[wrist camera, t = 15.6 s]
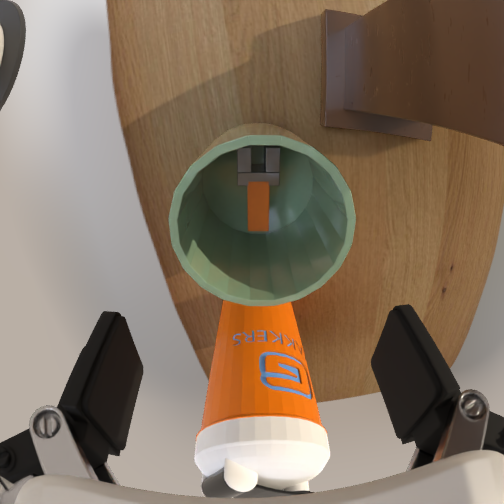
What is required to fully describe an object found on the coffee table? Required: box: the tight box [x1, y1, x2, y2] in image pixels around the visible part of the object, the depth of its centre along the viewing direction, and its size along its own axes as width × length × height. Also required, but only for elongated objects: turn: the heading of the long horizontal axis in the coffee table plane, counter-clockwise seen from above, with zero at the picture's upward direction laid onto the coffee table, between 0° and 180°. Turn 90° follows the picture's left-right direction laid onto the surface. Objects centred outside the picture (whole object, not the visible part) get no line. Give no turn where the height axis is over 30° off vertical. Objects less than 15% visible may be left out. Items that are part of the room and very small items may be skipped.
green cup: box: [169, 123, 356, 306], centre depth 20 cm, size 10×10×10 cm
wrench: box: [237, 145, 280, 231], centre depth 22 cm, size 6×3×3 cm, turn 0°
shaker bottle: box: [194, 300, 330, 498], centre depth 22 cm, size 9×9×20 cm
